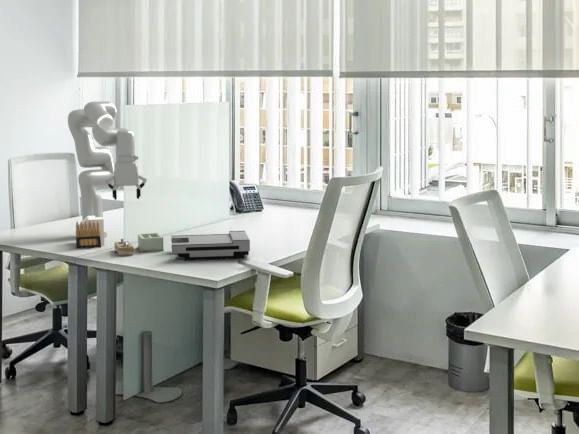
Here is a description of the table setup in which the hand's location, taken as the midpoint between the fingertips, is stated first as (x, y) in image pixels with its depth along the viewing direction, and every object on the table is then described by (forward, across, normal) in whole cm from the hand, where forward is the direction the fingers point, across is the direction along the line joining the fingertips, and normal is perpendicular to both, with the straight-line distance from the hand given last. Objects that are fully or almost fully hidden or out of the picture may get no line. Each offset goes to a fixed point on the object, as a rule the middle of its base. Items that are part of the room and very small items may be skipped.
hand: (126, 198), depth 324 cm
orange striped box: (+24, +14, -18) cm, 33 cm away
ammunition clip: (+23, +16, -10) cm, 30 cm away
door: (+22, +2, +5) cm, 23 cm away
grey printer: (+22, -32, +22) cm, 44 cm away
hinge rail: (+22, +2, +6) cm, 23 cm away
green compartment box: (+22, -10, +2) cm, 24 cm away
